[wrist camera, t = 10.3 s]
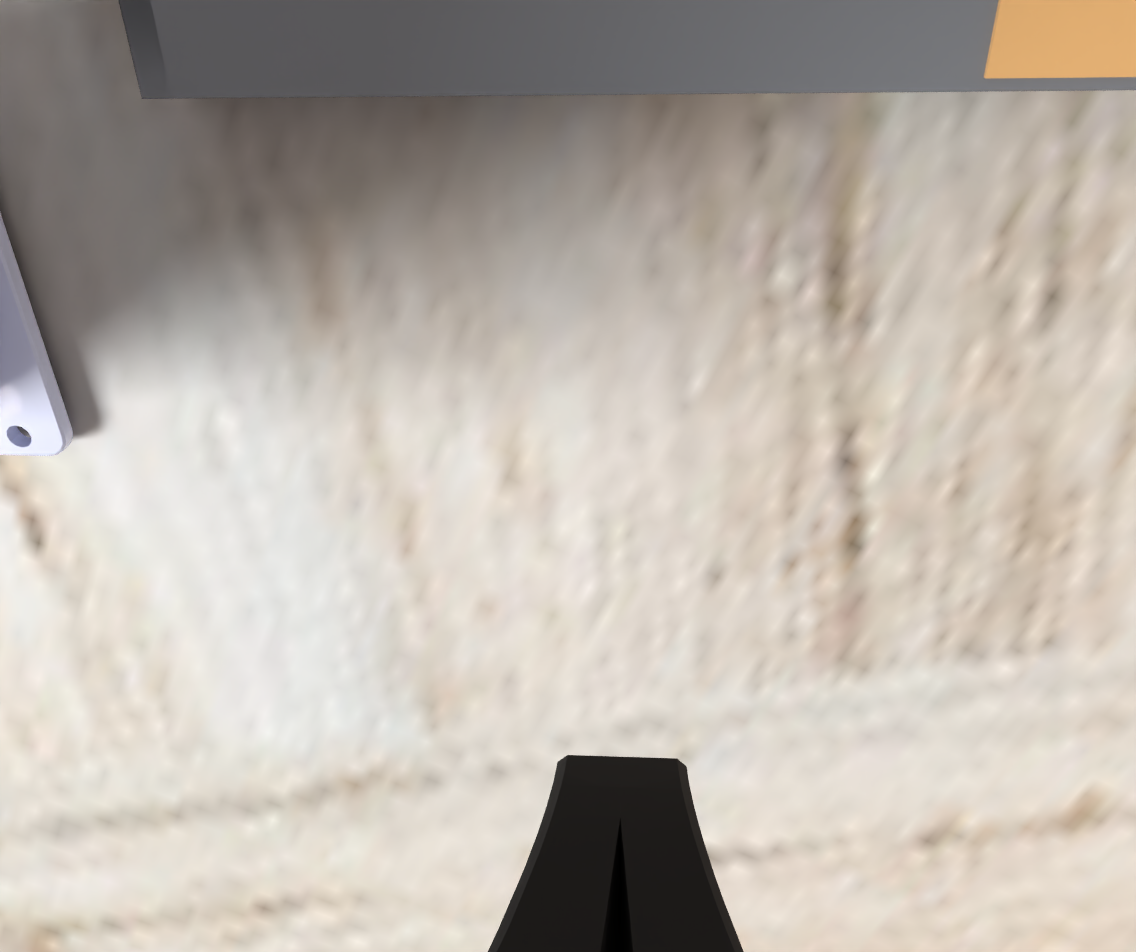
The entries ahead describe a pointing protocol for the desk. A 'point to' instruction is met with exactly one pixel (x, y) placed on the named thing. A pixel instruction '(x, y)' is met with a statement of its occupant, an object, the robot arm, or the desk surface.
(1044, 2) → the switch bank
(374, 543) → the desk surface
